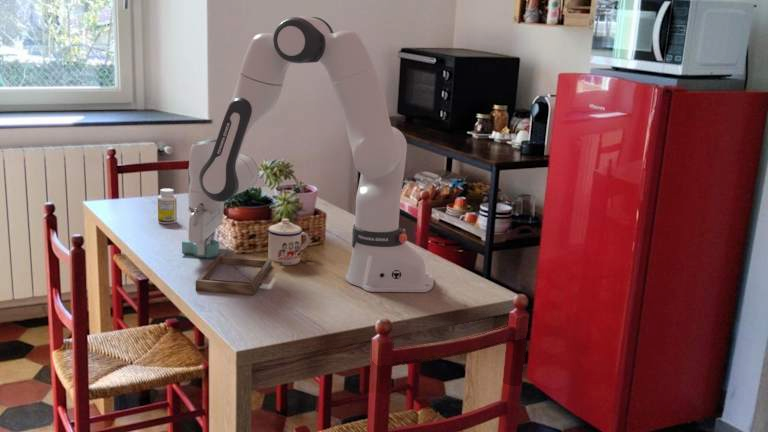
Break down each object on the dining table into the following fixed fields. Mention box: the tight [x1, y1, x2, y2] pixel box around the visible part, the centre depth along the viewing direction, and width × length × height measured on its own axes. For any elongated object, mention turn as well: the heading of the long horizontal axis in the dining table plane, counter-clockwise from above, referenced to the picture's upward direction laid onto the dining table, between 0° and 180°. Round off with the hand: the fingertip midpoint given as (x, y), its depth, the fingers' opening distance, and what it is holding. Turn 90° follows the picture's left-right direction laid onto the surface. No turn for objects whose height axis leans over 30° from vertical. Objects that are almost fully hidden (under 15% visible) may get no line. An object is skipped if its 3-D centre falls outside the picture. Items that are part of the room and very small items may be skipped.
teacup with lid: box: [267, 218, 310, 266], centre depth 219 cm, size 12×9×12 cm
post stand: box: [181, 236, 229, 261], centre depth 218 cm, size 10×10×6 cm
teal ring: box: [181, 239, 220, 257], centre depth 218 cm, size 10×6×3 cm
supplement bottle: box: [157, 188, 178, 225], centre depth 248 cm, size 6×6×10 cm
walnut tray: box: [195, 255, 272, 296], centre depth 202 cm, size 14×20×2 cm
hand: (205, 250), depth 218 cm, fingers closed on teal ring, 6 cm apart
